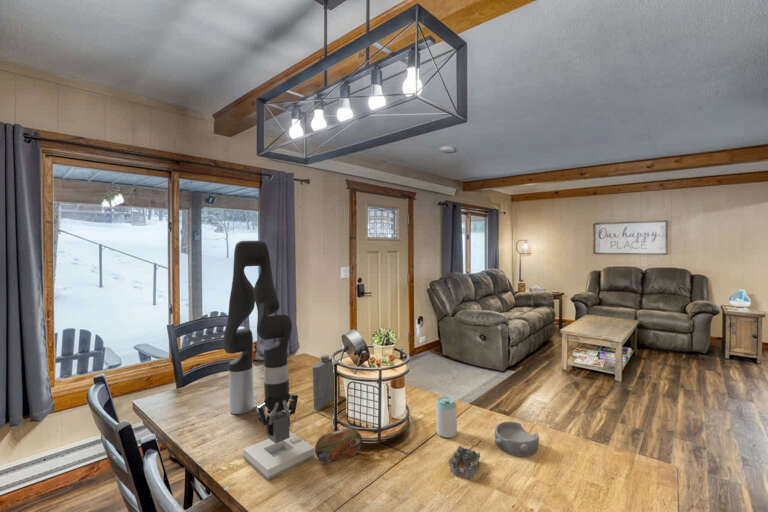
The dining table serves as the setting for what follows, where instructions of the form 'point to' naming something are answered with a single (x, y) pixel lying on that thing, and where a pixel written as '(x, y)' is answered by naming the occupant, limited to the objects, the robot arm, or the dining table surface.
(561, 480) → the dining table surface
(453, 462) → the grey jagged ring
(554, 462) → the dining table surface
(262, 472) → the socket
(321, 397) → the hip flask
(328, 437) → the tin
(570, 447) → the dining table surface
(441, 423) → the can
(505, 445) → the dish
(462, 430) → the dining table surface
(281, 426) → the plug
